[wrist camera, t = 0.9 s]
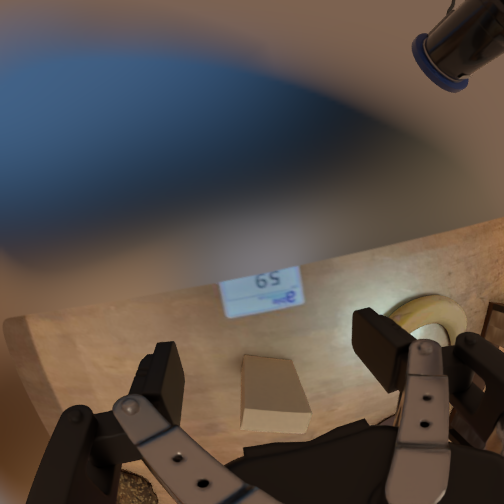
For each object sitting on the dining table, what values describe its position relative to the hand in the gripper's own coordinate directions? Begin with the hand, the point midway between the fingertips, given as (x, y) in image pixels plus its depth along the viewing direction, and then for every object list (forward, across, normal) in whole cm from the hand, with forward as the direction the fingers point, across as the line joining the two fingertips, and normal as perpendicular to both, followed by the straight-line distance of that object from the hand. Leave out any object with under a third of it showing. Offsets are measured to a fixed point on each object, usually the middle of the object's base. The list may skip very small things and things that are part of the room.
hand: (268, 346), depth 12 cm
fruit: (+15, -22, +13) cm, 30 cm away
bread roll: (+14, +26, +38) cm, 49 cm away
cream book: (+16, -1, +13) cm, 21 cm away
